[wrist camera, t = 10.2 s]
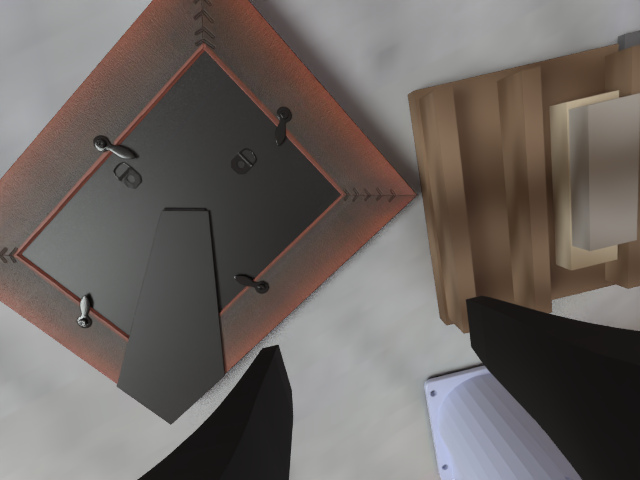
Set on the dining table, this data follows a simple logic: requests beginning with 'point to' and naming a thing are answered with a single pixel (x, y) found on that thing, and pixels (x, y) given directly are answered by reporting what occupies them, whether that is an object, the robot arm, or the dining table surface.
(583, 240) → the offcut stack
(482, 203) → the walnut rack
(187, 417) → the dining table surface
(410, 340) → the dining table surface
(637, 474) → the robot arm
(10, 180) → the picture frame
